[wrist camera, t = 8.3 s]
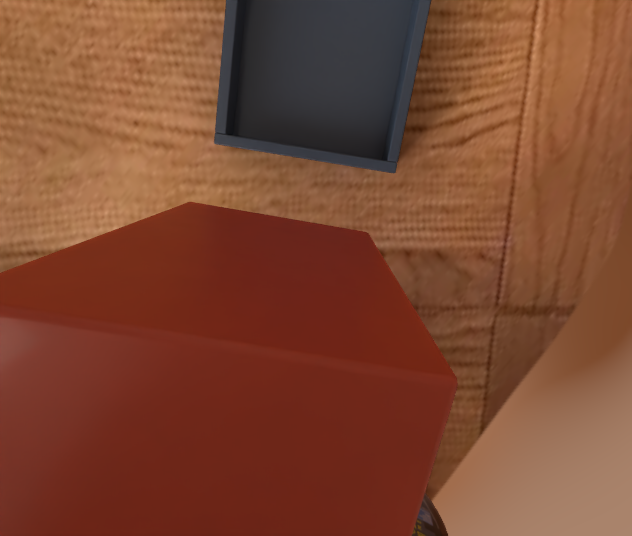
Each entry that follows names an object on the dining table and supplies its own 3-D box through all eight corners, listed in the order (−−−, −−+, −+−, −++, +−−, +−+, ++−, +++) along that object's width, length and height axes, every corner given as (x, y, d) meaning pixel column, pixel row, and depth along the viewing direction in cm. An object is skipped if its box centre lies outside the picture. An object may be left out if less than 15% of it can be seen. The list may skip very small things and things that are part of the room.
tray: (253, -179, 20) (244, -222, 18) (451, -141, 20) (468, -178, 18) (223, 144, 24) (213, 143, 22) (388, 171, 25) (395, 173, 22)
